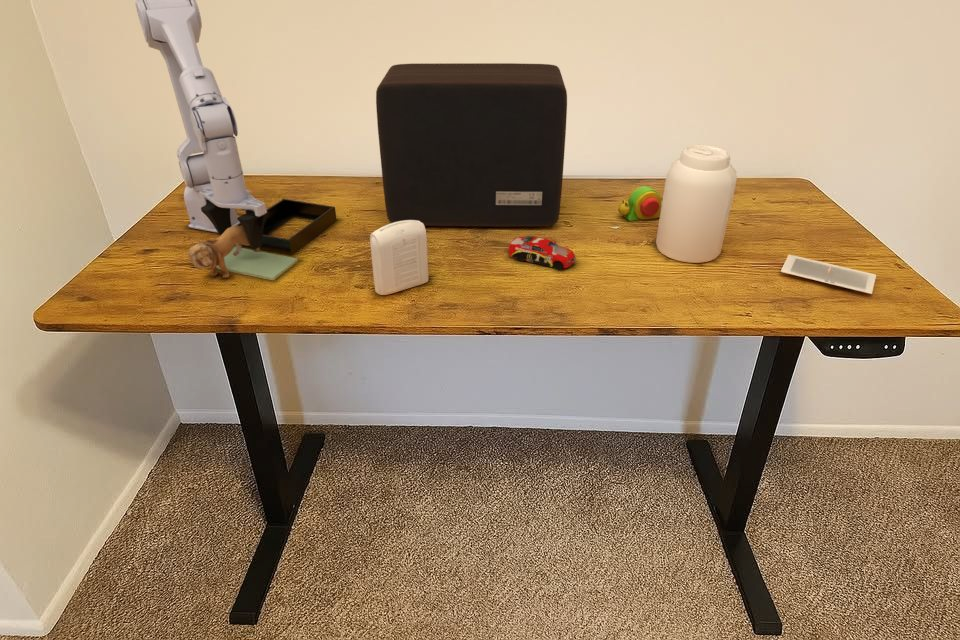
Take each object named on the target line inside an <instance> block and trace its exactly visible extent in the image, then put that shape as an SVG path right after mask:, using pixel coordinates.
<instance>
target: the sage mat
mask: <svg viewBox="0 0 960 640" xmlns="http://www.w3.org/2000/svg"><path fill="white" fill-rule="evenodd" d="M236 249H237V248H236V246H234V248H233V250H232V251H231V252H230V253H229V254H228V255H227V256H225V257H224V261H225V265H226V268H227V270H228V271H229V273H234V274H239V275H244V276H249V277H255V278H259V279H264V280H269V281H273V282H274V281H276V279H278V278H279V277H280V276H281V275H283V274H284V273H285V272H286V271H288V270H289V269H290V268H291V267H293V266H295V264H297V263H298V262H299V258H297V257H293V256H288V255H281V254H277V253H272V252H271V253H270V252H267V251H265V252H264V251H260V250H259V251H258V252H254V251H253V249H251V248H246V247H241V251H240V254H239V255H237V256H234V255H233V253H234V252H235V251H236ZM216 267H217V270H220V271H222V270H221V268H220V267H219V266H218V265H217V266H216Z"/></svg>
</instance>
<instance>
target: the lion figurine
mask: <svg viewBox="0 0 960 640" xmlns="http://www.w3.org/2000/svg"><path fill="white" fill-rule="evenodd" d="M241 244H242V245H246V246H250V244H249V241H248V238H247V235H246V232H245V230H244V228H243V227H242V225H238V226H233V227H229V228H227V229H226V230H225V231H224V233H223V234H222V235H221V236H219V235H218V237H217V238H216V239H214V240H213V239H206V240H204V241H202V240H201V241H199V242H195V243H194V244H193V245H191V246H190V247H189V249H188V252H187V255H188V259H189V261H190V262H191V263H192V265H193V266H194V267H195V268H196V269H197V270H201V271H202V270H208V271H210V276H212V277H216V276H217V275H218V269H217V267H216V266H217V265H218V266H219V267H220V268H221V270H220V271H221V272H222V275H221V276H222V278H223V279H227V278H230V272H229V271H228V270H227V268H226V265H225V261H224V257H225V256H227V255H228V254H229V253H230V252H231V251H232V250H233V248H234V247H236V248H237V249H236V251H235V252H234V253H233V255H234V256H237V255H239V254H240V251H241V248H243V246H242V245H241ZM252 250H253V251H254V252H258V251H260V247H259V248H257V249H255V250H254V249H252Z"/></svg>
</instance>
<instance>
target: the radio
mask: <svg viewBox="0 0 960 640" xmlns="http://www.w3.org/2000/svg"><path fill="white" fill-rule="evenodd" d="M567 91H568V90H567V88H566V85H565V82H564V78H563V76H562V72H561V69H560V67H559V66H557V65H556V64H548V63H518V62H517V63H516V62H515V63H514V62H513V63H512V62H511V63H510V62H507V63H505V62H503V63H501V62H500V63H499V62H498V63H497V62H495V63H491V62H489V63H486V62H484V63H483V62H482V63H478V62H477V63H472V62H471V63H464V62H463V63H462V62H461V63H457V62H456V63H455V62H454V63H451V62H450V63H442V62H441V63H439V62H438V63H436V62H435V63H398V64H393V65H391V66H390V67H389V69H388V70H387V72H386V74H385V75H384V76H383V78H382V80H381V81H380V83H379V85H377V87H376V91H375V107H376V121H377V135H378V145H379V155H380V165H381V166H380V167H381V177H382V187H383V189H382V190H383V195H384V196H383V197H384V205H385V212H386V217H387V220H388V221H389V223H390V224H391V223H394V222H398V221H404V220H417V221H420V222H421V223H423V224H424V226H425V227H429V226H430V227H503V228H505V227H507V228H508V227H509V228H510V227H550V226H554V225H556V224H557V223H558V221H559V218H560V212H561V203H562V192H563V191H562V190H563V179H564V178H563V177H564V164H565V148H566V133H567V116H568V115H567V114H568V92H567Z"/></svg>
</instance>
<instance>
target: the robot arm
mask: <svg viewBox="0 0 960 640" xmlns="http://www.w3.org/2000/svg"><path fill="white" fill-rule="evenodd" d="M135 8H136V13H137V17H138V21H139V24H140V27H141V30H142V34H143V36H144V40H145V42H146V43H147V45H148V47H149V48H150V49H154V50H157V51H159V52H160V54H161V56H162V58H163V60H164V62H165V64H166V68H167V71H168V74H169V78H170V82H171V85H172V89H173V93H174V95H175V99H176V103H177V106H178V110H179V113H180V116H181V119H182V124H183V127H184V131H185V135H186V138H185V140H184V141H182V143H181V144H180V145H179V146H178V148H177V150H176V156H177V160H178V165H179V170H180V173H181V176H182V180H183V182H184V184H185V188H184V191H183V201H184V204H185V208H186V211H187V214H188V219H189V222H190V223H189V224H188V225H187V226H188V228H190V229H195V230H200V231H205V232H212V233H217V234H218V237H219V236H221V235H222V234H223V233H224V231H225V230H226V229H227V228H229V227H233V226H243V228H244V230H245V232H246V235H247V238H248V241H249V244H250V247H251V248H250V249H251V250H253V249H254V250H255V249H257V248H259V247H260V246H262V237H263V229H264V224H265V221H266V218H267V216H268V214H269V213H268V210H267V209H268V208H267V205H266V202H264V201H261V200H259V199H257V198H256V197H254V196H253V195H252V190H250V189H247V185H246V181H245V176H244V171H243V166H242V163H241V158H240V153H239V152H240V151H239V148H238V142H237V137H238V134H239V132H238V124H237V119H236V116H235V112H234V109H233V108H232V106H231V104H230V102H229V101H228V100H227V98H226V97H225V96H223V95H222V92H221V89H220V88H219V85H218V83H217V80H216V77H215V75H214V73H213V71H212V70H211V69H209V68H208V67H205V66H204V65H203V62H202V58H201V55H200V51H199V48H198V45H197V43H200V38H201V33H202V28H203V25H202V24H203V22H202V17H201V13H200V9H199V8H200V7H199V6H198V3H197V0H136V1H135ZM237 210H240V211H244V212H245V213H243V214H242V215H238V211H237Z"/></svg>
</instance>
